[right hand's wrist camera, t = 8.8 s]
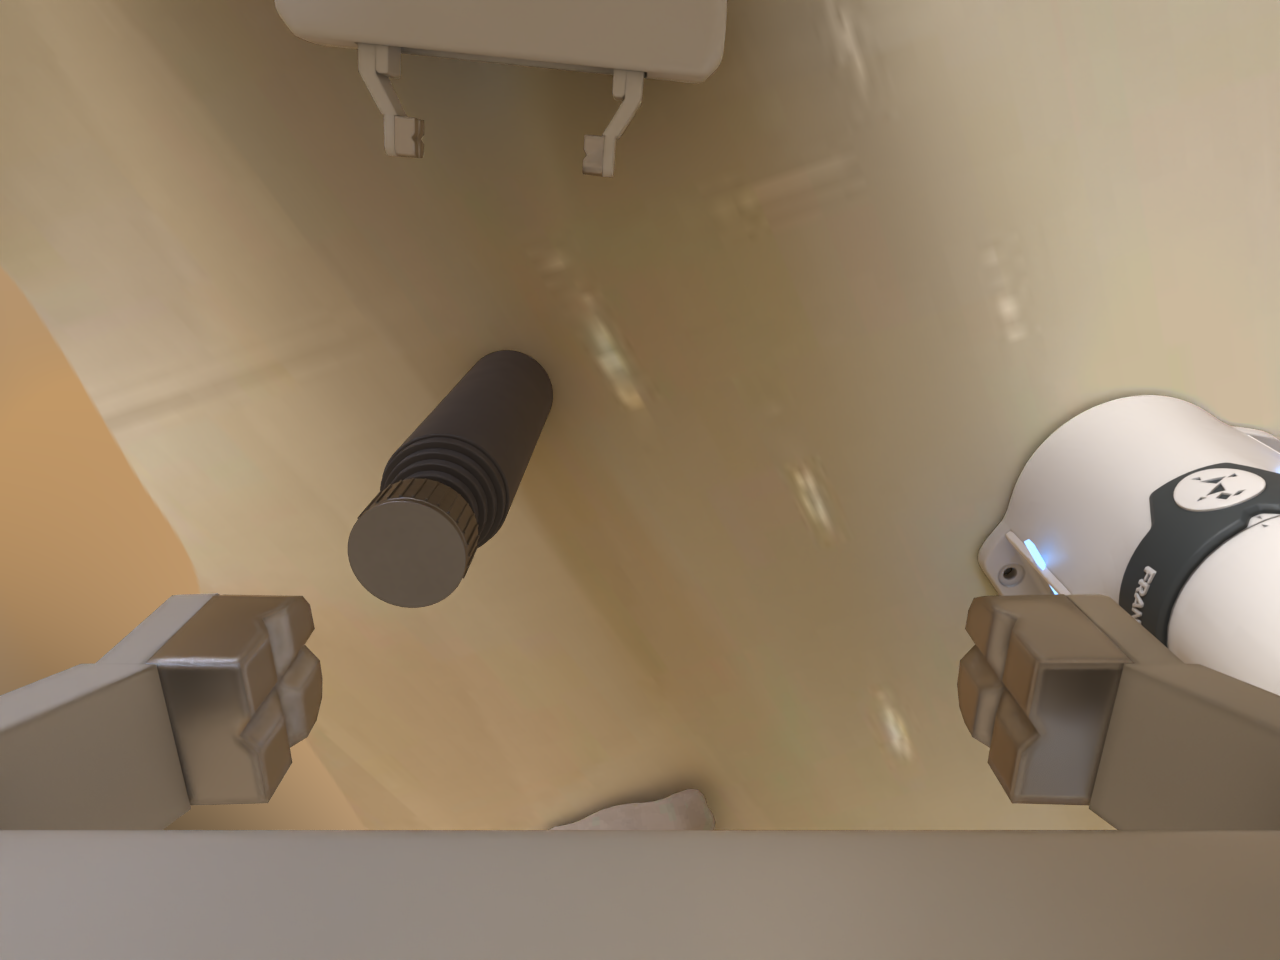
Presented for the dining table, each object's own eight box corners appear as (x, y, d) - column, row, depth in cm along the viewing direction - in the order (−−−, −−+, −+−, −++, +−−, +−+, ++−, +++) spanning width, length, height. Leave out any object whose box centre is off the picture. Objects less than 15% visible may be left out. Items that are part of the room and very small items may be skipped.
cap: (452, 461, 29) (437, 483, 27) (497, 560, 31) (486, 589, 29) (347, 497, 30) (324, 521, 28) (396, 593, 31) (378, 623, 29)
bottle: (533, 337, 48) (448, 460, 27) (565, 419, 50) (508, 592, 29) (451, 367, 49) (307, 507, 28) (486, 446, 51) (374, 634, 30)
